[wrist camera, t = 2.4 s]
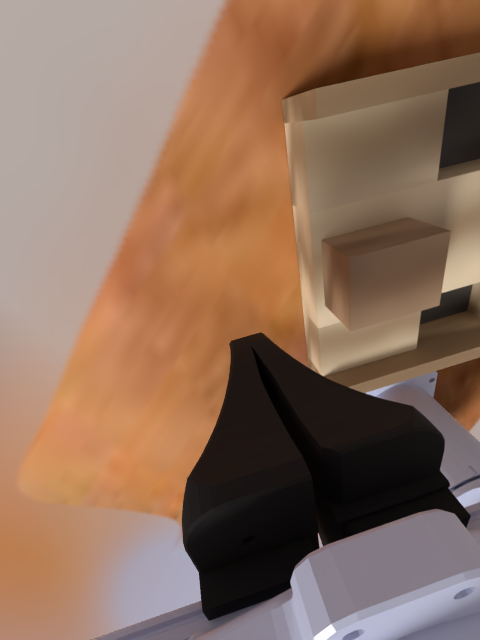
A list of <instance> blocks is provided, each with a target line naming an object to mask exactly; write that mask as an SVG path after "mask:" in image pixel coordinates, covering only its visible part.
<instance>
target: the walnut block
mask: <svg viewBox="0 0 480 640" xmlns="http://www.w3.org/2000/svg"><path fill="white" fill-rule="evenodd" d="M450 235H451V230H447V229H444V228H441V227H438V226H435V225H432V224H428V223H425V222H422V221H419V220H416V219H413V218H409V217H407V218H403V219H399V220H395V221H392V222H388V223H384V224H380V225H376V226H373V227H369V228H365V229H361V230H357V231H354V232H350V233H346V234H342V235H338V236H335V237H331V238H327V239H323V240H321V248H322V265H323V282H324V299H325V306H326V307H327V308H328V309H329V310H330V311H331V312H332V313H333V314H334V315H335V316H336V317H337V318H338V319H339V320H340V321H341V322H342V323H343V324H344V325H345V326H346V327H347V328H348V329H349V330H350V331H354V330H357V329H361V328H364V327H367V326H371V325H374V324H378V323H381V322H385V321H388V320H392V319H395V318H398V317H402V316H405V315H409V314H412V313H416V312H419V311H422V310H426V309H429V308H433V307H436V306H439V305H440V299H441V292H442V286H443V280H444V273H445V267H446V261H447V254H448V248H449V242H450Z"/></svg>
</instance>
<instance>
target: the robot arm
mask: <svg viewBox="0 0 480 640" xmlns="http://www.w3.org/2000/svg"><path fill="white" fill-rule="evenodd" d="M229 345H230V349H231V364H230V374H229V380H228V385H227V390H226V395H225V399H224V402H223V405H222V409H221V412H220V415H219V417H218V420H217V423H216V425H215V428H214V430H213V433H212V435H211V437H210V439H209V441H208V443H207V445H206V447H205V449H204V451H203V453H202V455H201V457H200V459H199V460H198V462H197V464H196V465H195V467H194V469H193V470H192V472H191V474H190V475H189V477H188V479H187V483H186V488H185V494H184V501H183V511H182V531H183V544H184V547H185V550H186V552H187V554H188V555H189V557H190V559H191V560H192V562H193V564H194V565H195V567H196V568H197V570H198V572H199V579H200V590H201V601H199V602H197V603H194V604H191V605H188V606H185V607H182V608H179V609H177V610H174V611H171V612H168V613H165V614H162V615H160V616H157V617H154V618H151V619H149V620H145V621H143V622H140V623H137V624H134V625H131V626H129V627H126V628H123V629H120V630H117V631H114V632H112V633H109V634H106V635H103V636H101V637H98V638H95V639H92V640H480V442H479V441H478V440H477V439H476V438H475V437H474V436H473V435H472V434H470V433H469V432H468V431H467V430H466V429H465V428H464V427H463V426H462V425H461V424H460V423H459V422H458V421H457V420H456V419H455V418H454V417H453V416H452V415H451V414H449V413H448V412H447V411H446V410H445V409H444V408H443V407H442V406H441V405H440V404H439V403H438V402H437V401H436V400H435V399H434V398H433V397H434V392H435V386H436V380H437V375H438V372H437V371H434V372H431V373H428V374H424V375H421V376H418V377H415V378H412V379H408V380H405V381H402V382H399V383H395V384H392V385H389V386H386V387H382V388H379V389H376V390H373V391H370V392H366V393H362V392H360V391H357V390H354V389H351V388H349V387H346V386H344V385H341V384H339V383H337V382H334V381H332V380H330V379H328V378H326V377H324V376H322V375H320V374H318V373H316V372H315V371H313V370H311V369H310V368H308V367H306V366H305V365H303V364H302V363H300V362H299V361H297V360H296V359H294V358H293V357H291V356H290V355H289V354H287V353H286V352H284V351H283V350H282V349H281V348H279V347H278V346H277V345H276V344H274V343H273V342H272V341H271V340H270V339H269V338H268V337H266V336H265V335H264V334H263V333H257V334H254V335H250V336H247V337H243V338H240V339H236V340H233V341H231V342H230V344H229ZM318 533H319V535H320V538H321V541H322V544H323V547H321V548H319V541H318Z"/></svg>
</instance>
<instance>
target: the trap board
mask: <svg viewBox="0 0 480 640" xmlns="http://www.w3.org/2000/svg"><path fill="white" fill-rule="evenodd" d="M282 106H283V115H284V125H285V135H286V145H287V155H288V165H289V175H290V185H291V195H292V205H293V215H294V224H295V234H296V244H297V254H298V264H299V274H300V284H301V294H302V304H303V314H304V323H305V333H306V343H307V353H308V363H309V367H310V369H311V370H313V371H315V372H316V373H318V374H320V375H322V376H324V377H326V378H328V379H330V380H332V381H334V382H337V383H339V384H341V385H344V386H346V387H349V388H351V389H354V390H357V391H360V392H362V393H366V392H370V391H373V390H376V389H379V388H382V387H386V386H389V385H392V384H395V383H399V382H402V381H405V380H408V379H412V378H415V377H418V376H421V375H424V374H428V373H431V372H434V371H437V370H441V369H444V368H447V367H450V366H454V365H457V364H460V363H463V362H466V361H470V360H473V359H476V358H479V357H480V52H479V53H474V54H470V55H465V56H460V57H456V58H451V59H447V60H442V61H438V62H433V63H429V64H424V65H420V66H415V67H411V68H406V69H402V70H397V71H393V72H388V73H384V74H379V75H375V76H370V77H365V78H361V79H356V80H352V81H347V82H343V83H338V84H334V85H329V86H325V87H320V88H316V89H313V90H310V91H307V92H304V93H301V94H298V95H294V96H291V97H288V98H285V99H282ZM407 217H409V218H413V219H416V220H419V221H422V222H425V223H428V224H432V225H435V226H438V227H441V228H444V229H447V230H451V235H450V242H449V248H448V254H447V261H446V267H445V273H444V280H443V286H442V292H441V299H440V305H439V306H436V307H433V308H429V309H426V310H422V311H419V312H416V313H412V314H409V315H405V316H402V317H398V318H395V319H392V320H388V321H385V322H381V323H378V324H374V325H371V326H367V327H364V328H361V329H357V330H354V331H350V330H349V329H348V328H347V327H346V326H345V325H344V324H343V323H342V322H341V321H340V320H339V319H338V318H337V317H336V316H335V315H334V314H333V313H332V312H331V311H330V310H329V309H328V308H327V307H326V306H325V299H324V282H323V265H322V248H321V240H323V239H327V238H331V237H335V236H338V235H342V234H346V233H350V232H354V231H357V230H361V229H365V228H369V227H373V226H376V225H380V224H384V223H388V222H392V221H395V220H399V219H403V218H407Z"/></svg>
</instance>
